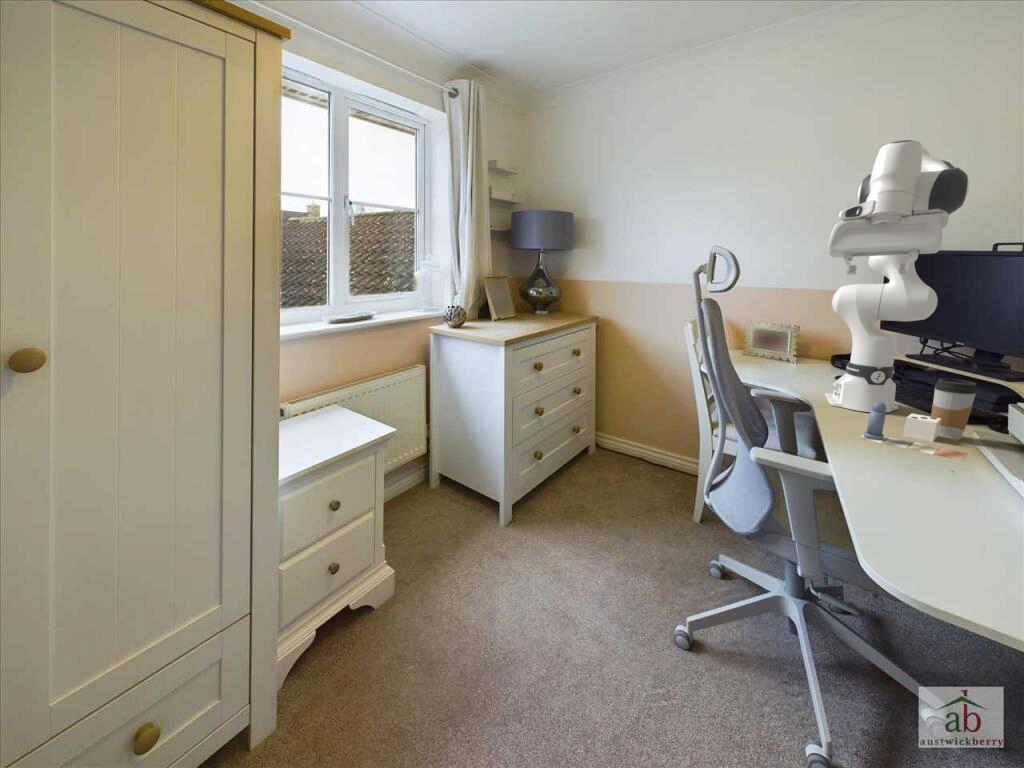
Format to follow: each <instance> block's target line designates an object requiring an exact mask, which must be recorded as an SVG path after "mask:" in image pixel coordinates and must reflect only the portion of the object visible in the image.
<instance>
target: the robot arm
mask: <svg viewBox="0 0 1024 768" xmlns="http://www.w3.org/2000/svg"><path fill="white" fill-rule="evenodd" d="M969 189H970V180H969V177H968V174H967V173H966V172H965V171H964V170H963V169H961V168H959V167H955V166H954V165H953V164H952V163H951V162H950V161H946V160H942V159H939V158H936V157H934V156H931V154H930V152H929V151H928V150H927V149H926V148H924V147H923V145H922V143H921V142H920V141H917V140H913V139H912V140H911V139H906V140H898V141H892V142H890V143H887V144H884V145H883V146H882V147H880V149H879V151H878V153H877V156H876V159H875V160H874V164H873V167H872V171H871V173H869V174H868V175H867V176H866V177H864V178H863V180H862V182H861V183H860V185H859V187H858V190H857V195H856V196H857V197H856V198H857V200H858V201H857V202H858V204H857V205H853V206H852V207H848V208H845V209H843V210H842V211H840V212H839V214H838V215H839V217H838V218H839V222H837V223H836V224H835V226H834V227H833V229H832V231H831V234H830V237H829V240H828V244H827V247H826V248H827V250H826V251H827V253H828V255H829V256H830V257H831V258H834V259H835V258H843V260H844V262H845V264H846V266H847V269H846V275H847V276H855V275H856V273H857V272H856V271H857V270H858V269H857V268H858V267H857V266H856V265H855V264H854V265H853V264H851V262H853V259H854V258H855V257H868V261H867V263H868V266H869V268H870V269H871V270H872V271H874V272H875V273H877V274H878V275H881V276H884V277H885V278H887V279H888V280H889V281H888V282H887V283H853V284H848V285H847V284H846V285H842V286H840V287H839V288H838V289H837V290H836V291H835V292H834V294H833V297H832V298H831V299H832V300H831V306H832V310H833V312H834V313H835V314H836V315H837V316H838V317H840V318H841V319H842V320H843V322H845V323H846V325H847V327H848V328H849V331H850V333H851V342H852V343H851V353H850V361H849V362H848V363H847V365H846V368H845V373H844V374H843V375H842V376H840V377H839V378H838V379H837V380H836V381H835V382H832V383H831V385H830V390H832V391H833V392H827V393H824V397H825V396H826V397H825V399H826V398H827V399H826V400H827V402H828V403H829V405H830V406H834V407H839V408H843V409H844V408H845V409H847V410H848V409H849V410H853V411H859V412H864V413H865V412H866V413H870V410H871V407H872V405H873V404H874V403H876V402H882V403H884V404H885V405H886V413H890V412H893V411H898V410H899V406H898V405H895V400H896V389H897V384H896V382H894V381H893V379H892V378H893V377H894V374H895V366H894V363H895V356H896V352H897V351H896V350H897V346H898V343H897V340H896V339H895V337H894V336H892V334H891V335H890V334H889V333H887V331H886V332H885V331H883V330H882V329H879V328H878V327H877V325H876V321H893V322H914V321H915V322H916V321H922V320H926V319H928V318H929V317H930V316H932V314H933V313H934V312H935V310H936V309H937V306H938V301H939V300H938V296H937V293H936V292H935V290H934V289H933V288H932V287H930V286H929V285H927V283H925V282H924V281H923V280H922V279H921V278H920V277H919V275H918V273H917V271H916V270H917V269H916V267H915V262H916V261H917V260H918V258H919V255H928V254H936V253H938V252H939V251H940V250H941V249H942V245H943V229H945V227H946V226H947V225H948V223H949V222H948V221H949V216H950V215H951V214H953V213H954V212H956V211H957V210H959V209H960V208H962V207H963V205H964V203H965V202H966V199H967V197H968V194H969ZM897 409H898V410H897Z"/></svg>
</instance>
